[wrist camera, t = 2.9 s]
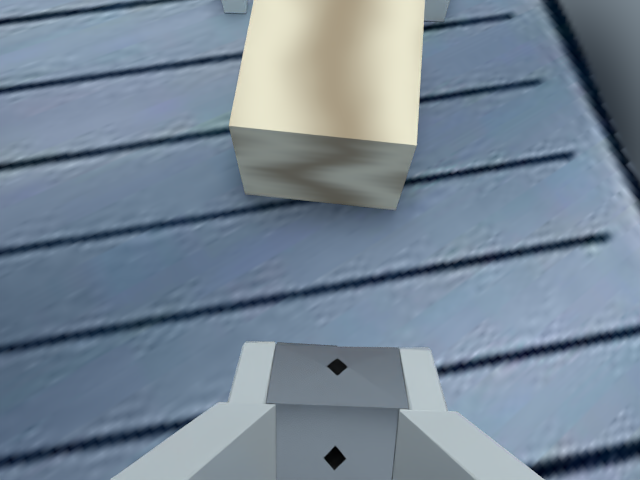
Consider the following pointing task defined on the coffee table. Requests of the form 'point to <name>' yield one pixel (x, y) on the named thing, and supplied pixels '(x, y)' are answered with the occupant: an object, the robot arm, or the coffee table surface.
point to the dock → (433, 11)
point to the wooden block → (329, 100)
